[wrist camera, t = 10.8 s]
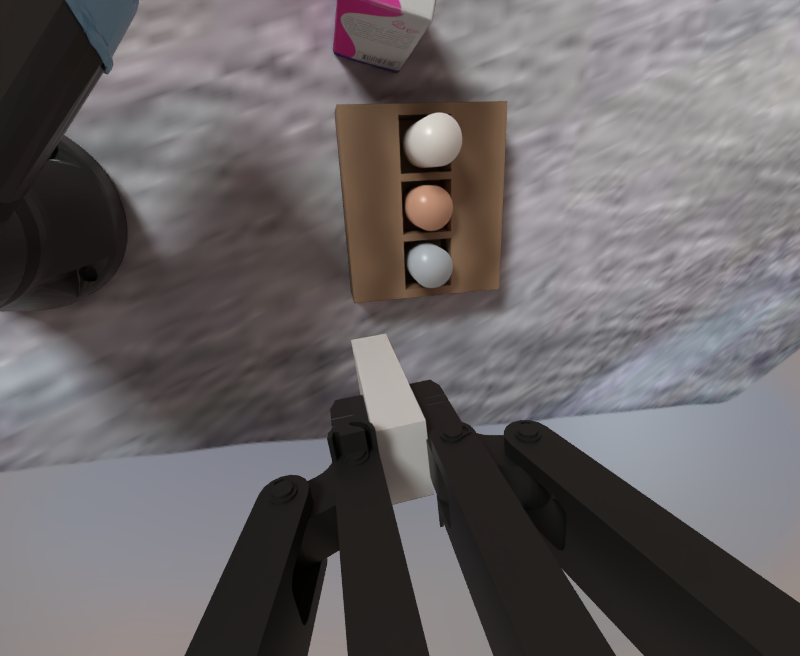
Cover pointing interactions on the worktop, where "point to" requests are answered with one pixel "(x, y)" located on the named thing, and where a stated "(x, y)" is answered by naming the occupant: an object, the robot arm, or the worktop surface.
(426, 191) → the brown egg
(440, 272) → the pale blue egg
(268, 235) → the worktop surface
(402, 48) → the supplement box
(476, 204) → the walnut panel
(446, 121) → the white egg
